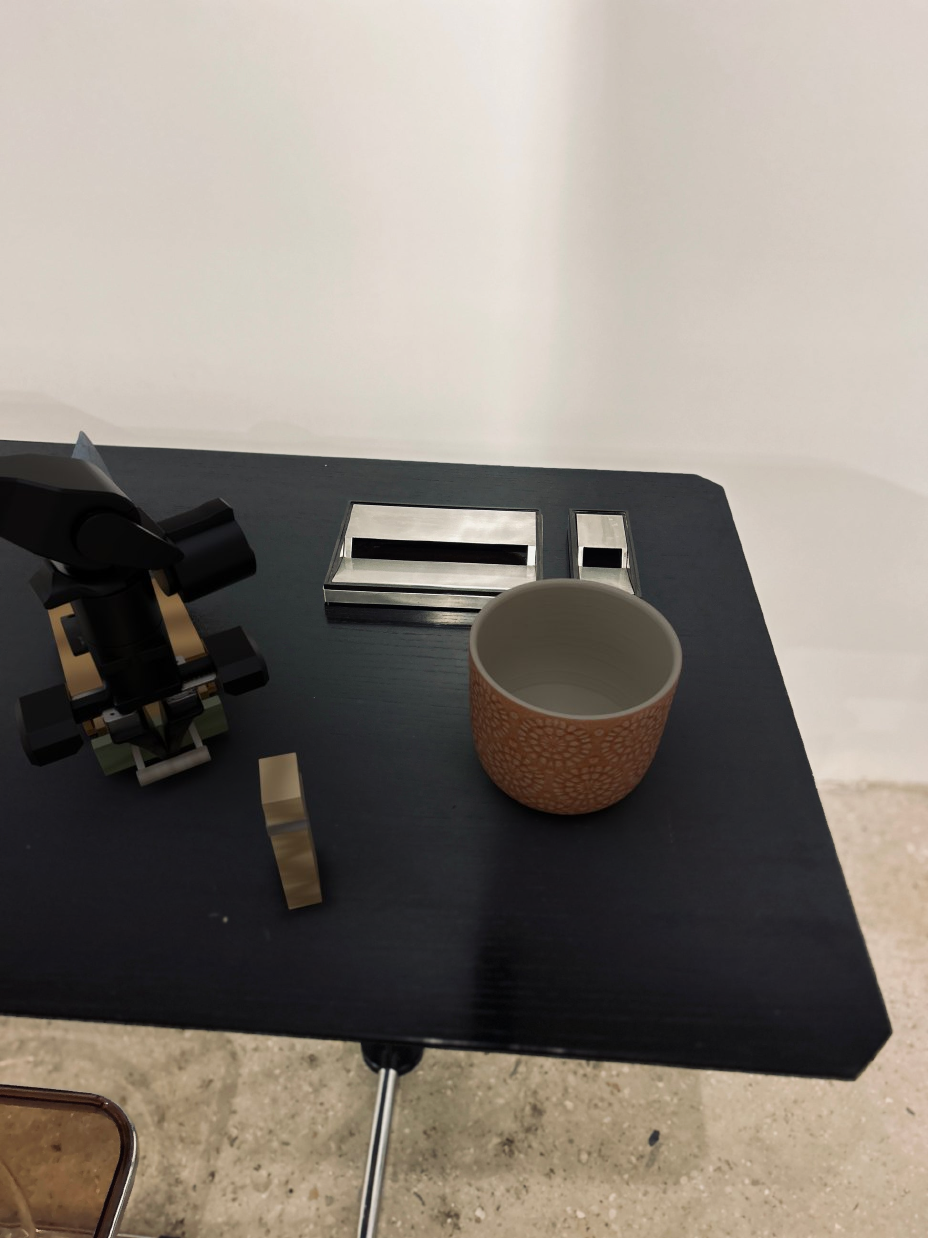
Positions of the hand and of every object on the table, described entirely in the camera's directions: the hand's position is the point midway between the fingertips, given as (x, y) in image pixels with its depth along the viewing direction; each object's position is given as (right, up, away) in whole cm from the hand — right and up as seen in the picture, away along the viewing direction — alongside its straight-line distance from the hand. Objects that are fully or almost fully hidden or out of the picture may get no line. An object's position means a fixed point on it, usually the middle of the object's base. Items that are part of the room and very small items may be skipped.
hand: (170, 757), depth 69 cm
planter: (+35, -1, +4) cm, 35 cm away
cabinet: (-8, +7, +13) cm, 17 cm away
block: (+13, -9, -6) cm, 17 cm away
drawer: (-3, +2, +6) cm, 7 cm away
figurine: (-20, +20, +29) cm, 41 cm away
